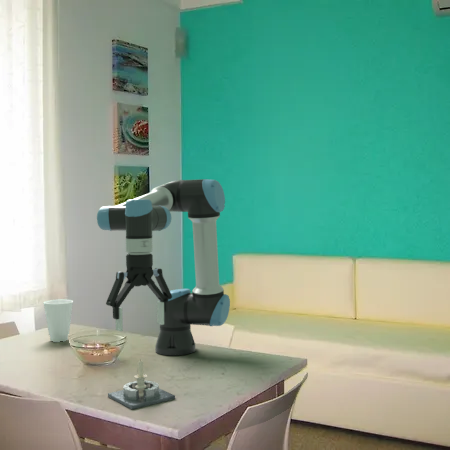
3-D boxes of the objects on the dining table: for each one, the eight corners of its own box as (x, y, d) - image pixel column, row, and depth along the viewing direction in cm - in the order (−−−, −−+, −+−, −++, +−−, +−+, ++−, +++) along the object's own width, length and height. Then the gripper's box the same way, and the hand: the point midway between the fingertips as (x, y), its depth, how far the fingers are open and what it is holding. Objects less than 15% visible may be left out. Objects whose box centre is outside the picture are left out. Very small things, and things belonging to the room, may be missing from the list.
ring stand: (108, 396, 174) (107, 384, 174) (149, 387, 183) (149, 375, 183) (131, 409, 163) (131, 396, 163) (175, 398, 172) (174, 386, 172)
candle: (128, 396, 171) (127, 360, 171) (136, 390, 176) (136, 355, 176) (144, 398, 169) (144, 361, 169) (153, 392, 174) (152, 357, 174)
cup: (38, 343, 242) (38, 303, 242) (52, 336, 254) (51, 299, 254) (66, 343, 241) (65, 304, 240) (78, 337, 252) (77, 299, 252)
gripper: (105, 256, 161) (106, 335, 162) (183, 251, 176) (183, 323, 177) (93, 255, 167) (94, 330, 167) (169, 250, 182) (170, 319, 183)
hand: (140, 327), depth 172 cm, fingers open, 13 cm apart
